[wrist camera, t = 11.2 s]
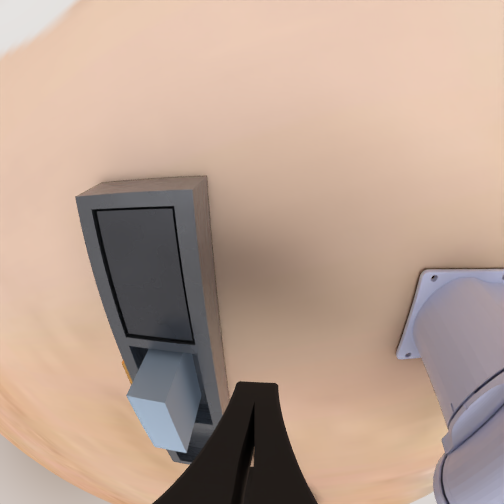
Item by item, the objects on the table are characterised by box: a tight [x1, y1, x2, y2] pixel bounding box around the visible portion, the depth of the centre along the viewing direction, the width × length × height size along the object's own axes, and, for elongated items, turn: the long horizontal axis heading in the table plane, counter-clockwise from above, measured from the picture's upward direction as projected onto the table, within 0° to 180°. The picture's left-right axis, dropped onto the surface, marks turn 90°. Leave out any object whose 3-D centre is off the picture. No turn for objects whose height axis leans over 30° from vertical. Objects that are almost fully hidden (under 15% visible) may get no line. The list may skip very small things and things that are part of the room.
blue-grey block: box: [126, 349, 202, 453], centre depth 20 cm, size 3×7×6 cm, turn 1°
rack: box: [76, 176, 230, 464], centre depth 22 cm, size 8×30×3 cm, turn 1°
